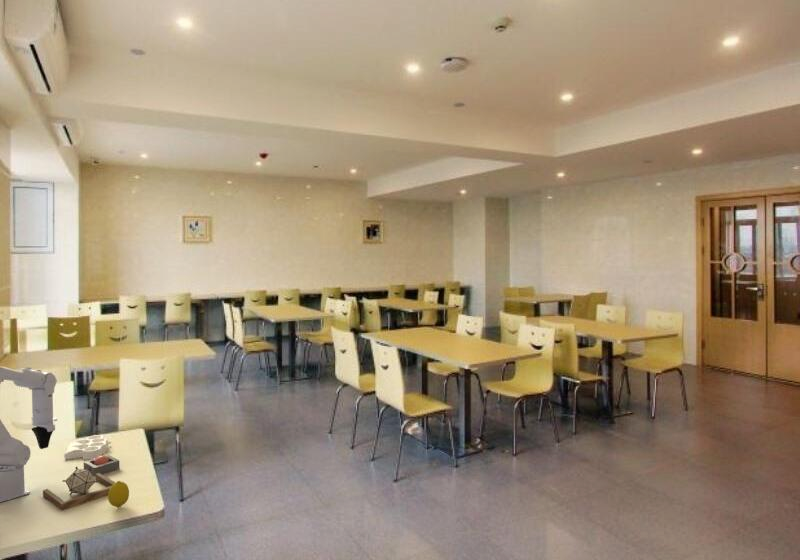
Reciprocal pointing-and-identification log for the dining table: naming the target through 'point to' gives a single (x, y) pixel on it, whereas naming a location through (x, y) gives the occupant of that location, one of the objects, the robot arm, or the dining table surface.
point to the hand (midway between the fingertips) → (43, 447)
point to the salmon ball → (101, 460)
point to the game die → (80, 481)
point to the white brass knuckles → (87, 447)
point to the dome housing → (102, 466)
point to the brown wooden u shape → (81, 499)
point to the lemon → (118, 494)
